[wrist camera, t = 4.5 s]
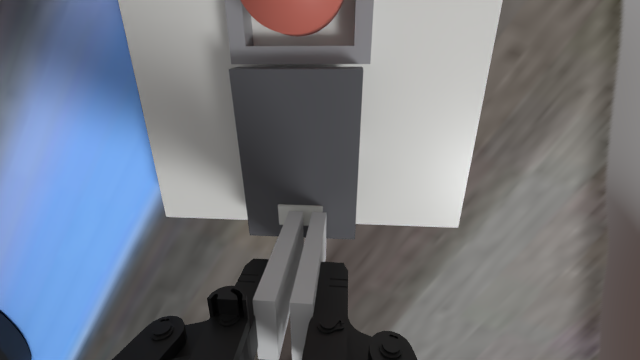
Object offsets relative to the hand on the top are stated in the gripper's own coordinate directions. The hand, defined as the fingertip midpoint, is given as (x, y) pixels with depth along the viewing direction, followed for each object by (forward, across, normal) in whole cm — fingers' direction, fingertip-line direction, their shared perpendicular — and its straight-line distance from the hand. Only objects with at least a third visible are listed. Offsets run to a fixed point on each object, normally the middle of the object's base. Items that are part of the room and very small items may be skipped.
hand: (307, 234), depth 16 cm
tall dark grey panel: (+1, 0, -4) cm, 4 cm away
